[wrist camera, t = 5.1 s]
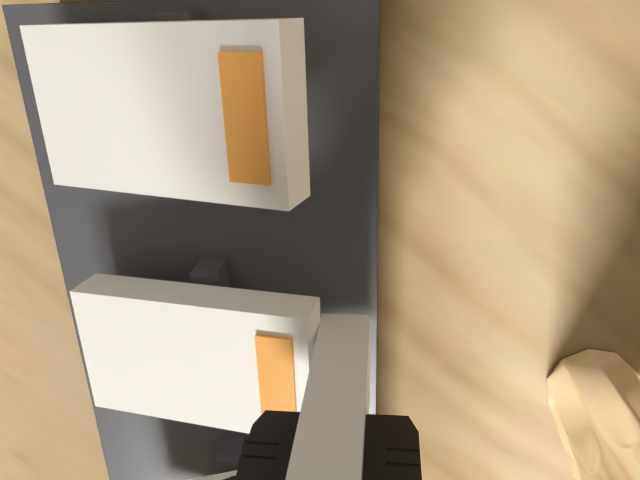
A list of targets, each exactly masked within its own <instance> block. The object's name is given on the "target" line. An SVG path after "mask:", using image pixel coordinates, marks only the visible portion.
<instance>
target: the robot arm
mask: <svg viewBox="0 0 640 480" xmlns="http://www.w3.org/2000/svg"><path fill="white" fill-rule="evenodd" d="M369 403H370V315H357V314H324V313H322V315H321V321H320V324H319V328H318V333H317V338H316V342H315V347H314V351H313V356H312V360H311V365H310V370H309V374H308V379H307V383H306V388H305V392H304V397H303V402H302V406H301V411H300V412H291V411H272V410H265V411H264V413H263V414H262V415H261V416H260V417H259V418H258V419H257V420H256V421H255V422H254V423H253V424H252V427H251V430H250V434H249V437H248V440H247V445H246V446H245V449H244V452H243V456H242V458H241V461H240V464H239V467H238V470H237V473H236V476H231V477H229V478H226V479H223V480H422V476H421V462H420V448H419V433H418V431H417V429H416V427H415V426H414V424H413V423H412V421H411V420H410V418H409V416H397V415H377V414H369Z"/></svg>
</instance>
